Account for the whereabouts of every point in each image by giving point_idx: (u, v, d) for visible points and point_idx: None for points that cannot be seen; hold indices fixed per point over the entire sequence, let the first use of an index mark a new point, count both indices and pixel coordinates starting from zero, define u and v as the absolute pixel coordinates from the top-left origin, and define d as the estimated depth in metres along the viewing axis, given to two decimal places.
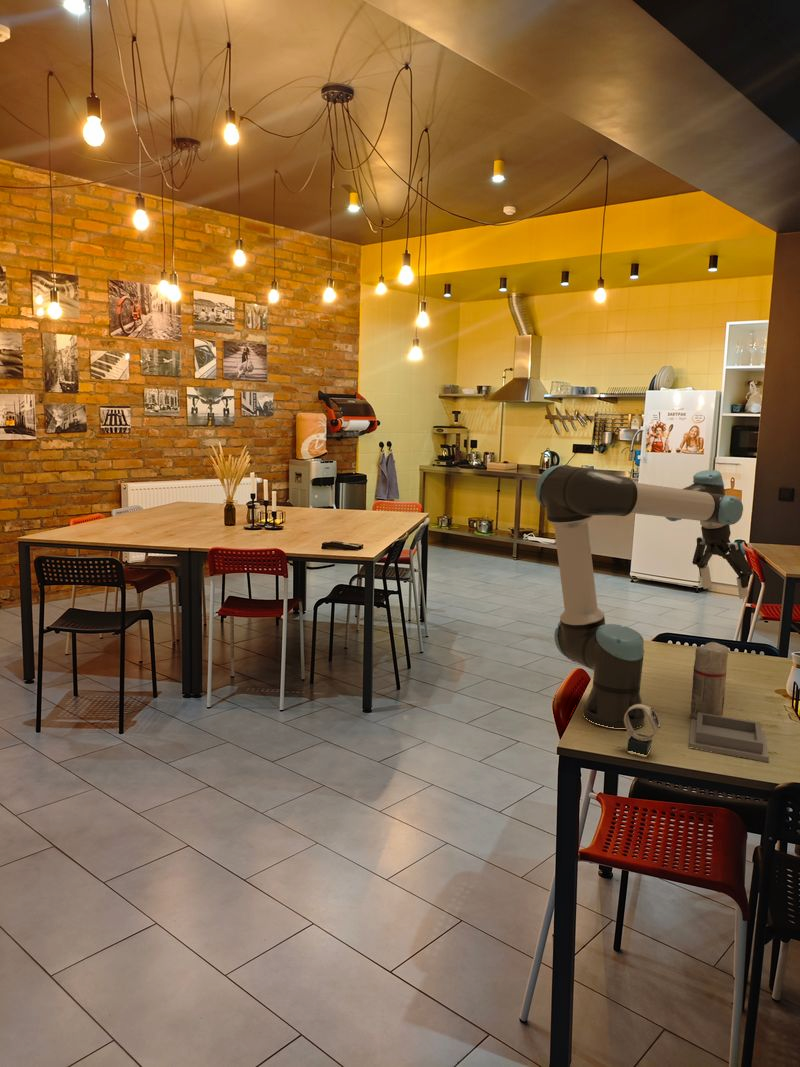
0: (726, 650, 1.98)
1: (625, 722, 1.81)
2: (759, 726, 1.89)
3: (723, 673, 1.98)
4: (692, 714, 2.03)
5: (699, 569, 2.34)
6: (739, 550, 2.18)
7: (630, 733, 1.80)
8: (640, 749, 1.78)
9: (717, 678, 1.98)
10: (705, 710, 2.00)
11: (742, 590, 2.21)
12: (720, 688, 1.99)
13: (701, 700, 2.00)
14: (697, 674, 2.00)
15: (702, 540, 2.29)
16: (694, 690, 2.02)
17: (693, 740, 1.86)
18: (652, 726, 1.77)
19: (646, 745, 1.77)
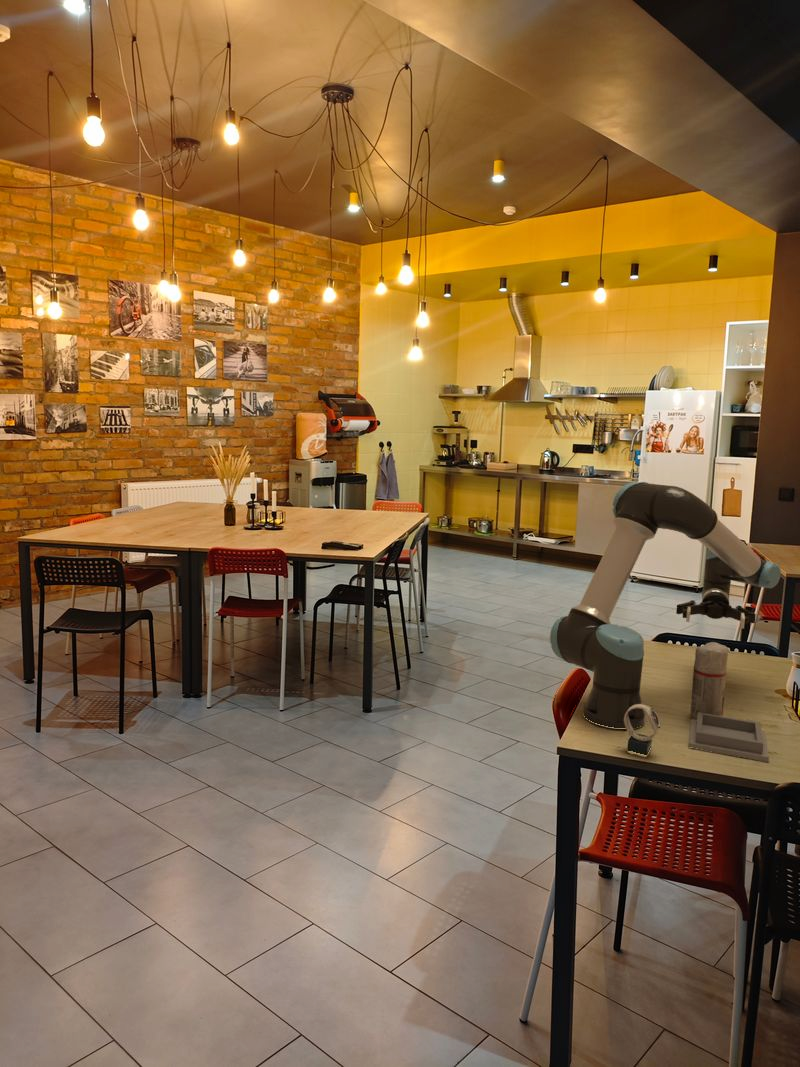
0: (726, 650, 1.98)
1: (625, 722, 1.81)
2: (759, 726, 1.89)
3: (723, 673, 1.98)
4: (692, 714, 2.03)
5: (683, 609, 2.17)
6: None
7: (630, 733, 1.80)
8: (640, 749, 1.78)
9: (717, 678, 1.98)
10: (705, 710, 2.00)
11: None
12: (720, 688, 1.99)
13: (701, 700, 2.00)
14: (697, 674, 2.00)
15: (695, 604, 2.25)
16: (694, 690, 2.02)
17: (693, 740, 1.86)
18: (652, 726, 1.77)
19: (646, 745, 1.77)
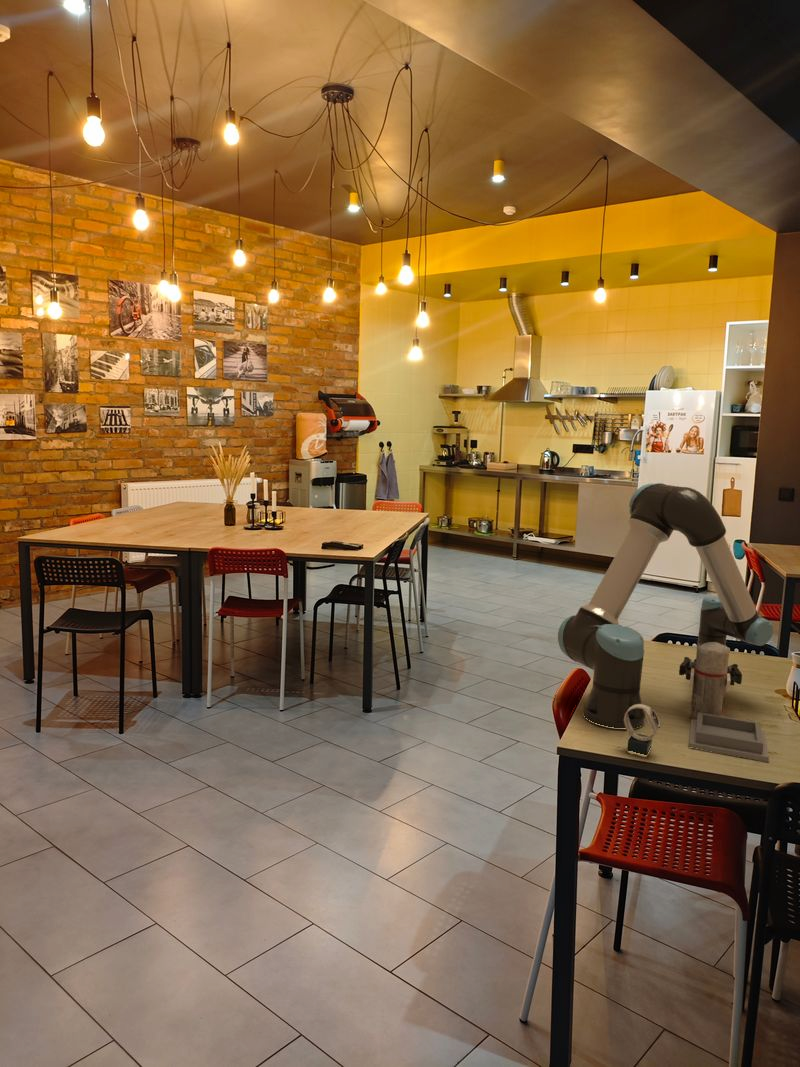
0: (727, 650, 1.98)
1: (625, 722, 1.81)
2: (759, 726, 1.89)
3: (724, 673, 1.98)
4: (692, 714, 2.03)
5: (687, 670, 2.05)
6: None
7: (630, 733, 1.80)
8: (640, 749, 1.78)
9: (718, 678, 1.98)
10: (705, 709, 2.00)
11: (729, 681, 1.98)
12: (721, 688, 1.98)
13: (701, 700, 2.00)
14: (697, 674, 2.00)
15: None
16: (694, 690, 2.02)
17: (693, 740, 1.86)
18: (652, 726, 1.77)
19: (646, 745, 1.77)
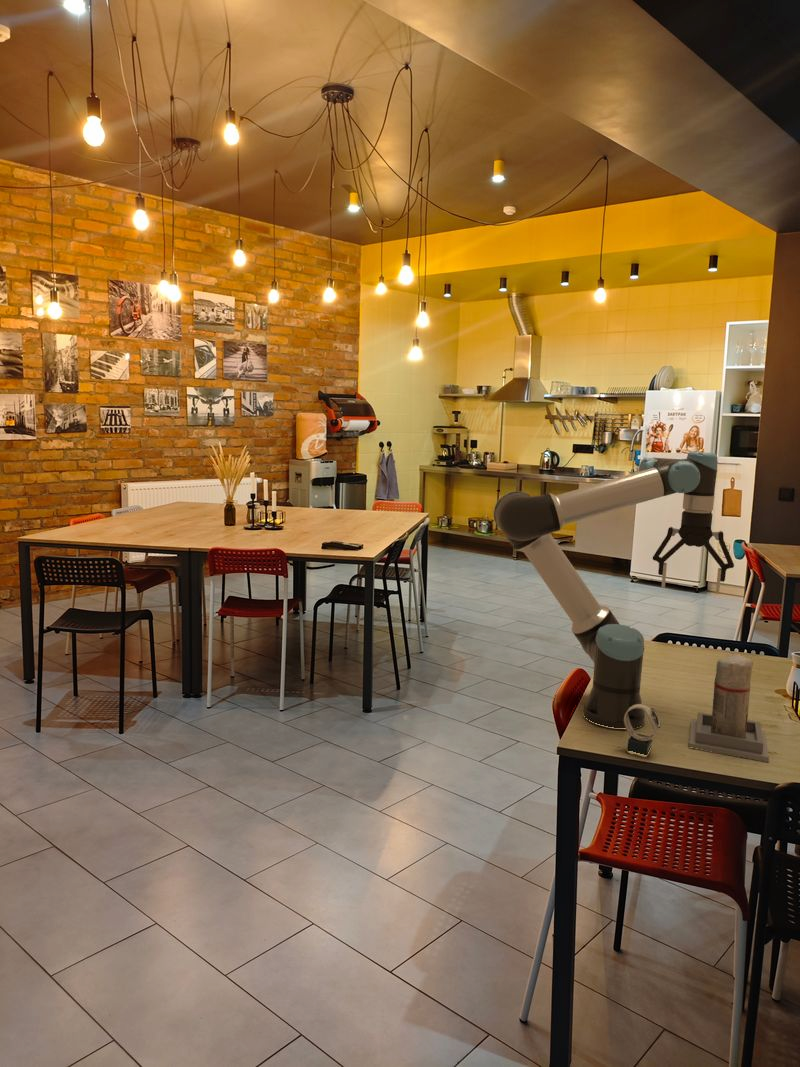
0: (750, 663, 1.83)
1: (625, 722, 1.81)
2: (759, 726, 1.89)
3: (747, 688, 1.83)
4: (713, 732, 1.88)
5: (659, 566, 2.10)
6: None
7: (630, 733, 1.80)
8: (640, 749, 1.78)
9: (741, 693, 1.83)
10: (727, 728, 1.85)
11: (719, 585, 2.05)
12: (744, 704, 1.84)
13: (723, 717, 1.85)
14: (718, 689, 1.85)
15: (674, 531, 2.08)
16: (715, 706, 1.87)
17: (693, 740, 1.86)
18: (652, 726, 1.77)
19: (646, 745, 1.77)
